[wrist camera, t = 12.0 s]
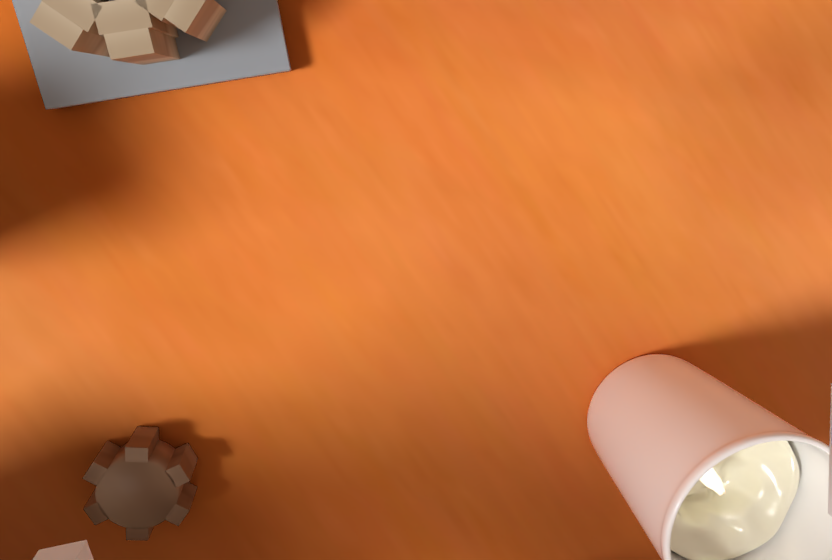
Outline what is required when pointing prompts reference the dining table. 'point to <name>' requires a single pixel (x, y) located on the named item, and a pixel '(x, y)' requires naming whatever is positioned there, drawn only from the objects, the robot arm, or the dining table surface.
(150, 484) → the gear
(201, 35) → the maple gear
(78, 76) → the gear board
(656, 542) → the candle holder
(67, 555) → the robot arm
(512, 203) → the dining table surface
